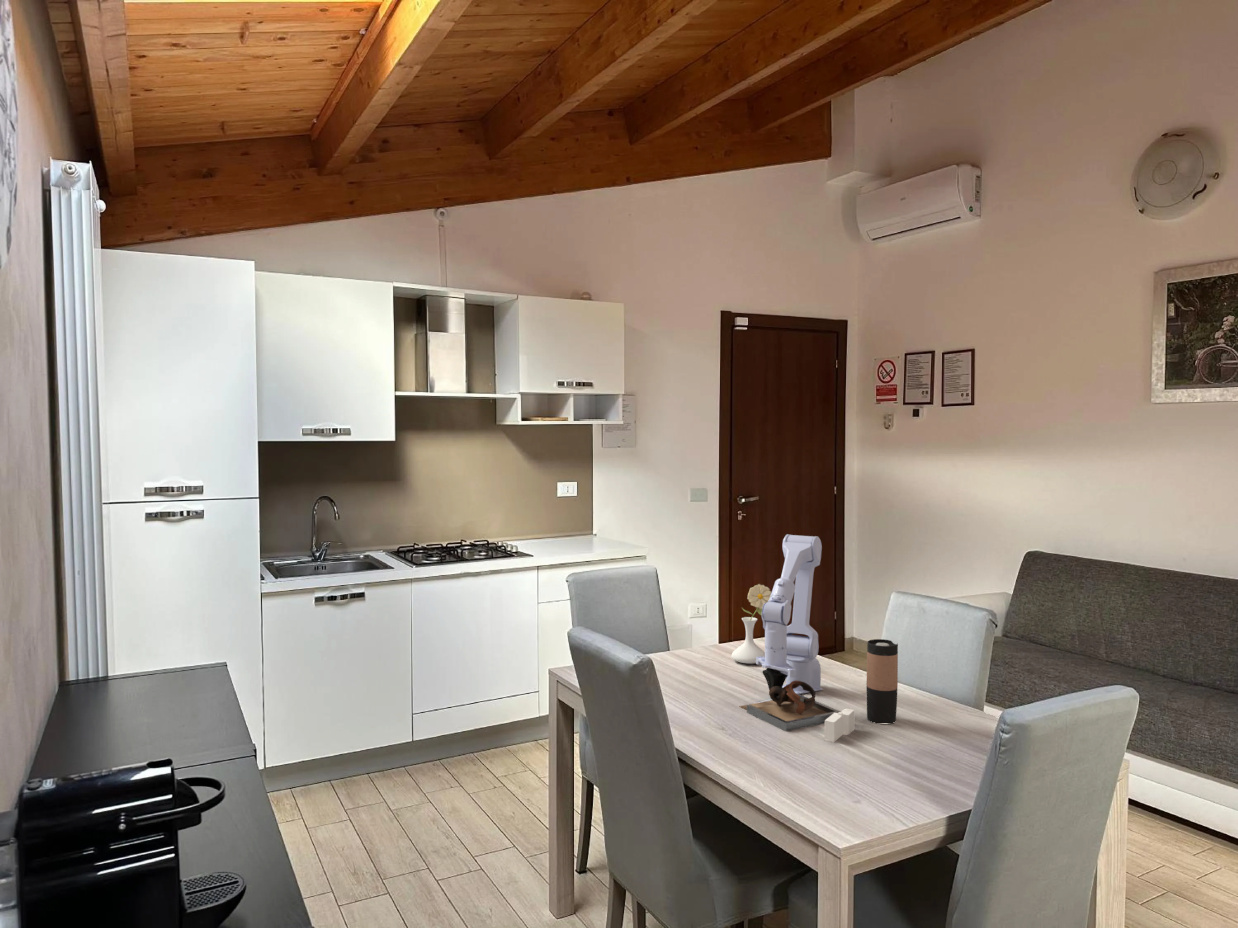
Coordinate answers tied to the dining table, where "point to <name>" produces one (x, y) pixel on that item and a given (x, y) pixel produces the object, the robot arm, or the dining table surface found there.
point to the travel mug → (882, 680)
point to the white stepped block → (839, 725)
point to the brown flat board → (785, 710)
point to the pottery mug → (793, 695)
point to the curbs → (797, 722)
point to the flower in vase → (752, 626)
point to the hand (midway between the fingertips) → (775, 696)
